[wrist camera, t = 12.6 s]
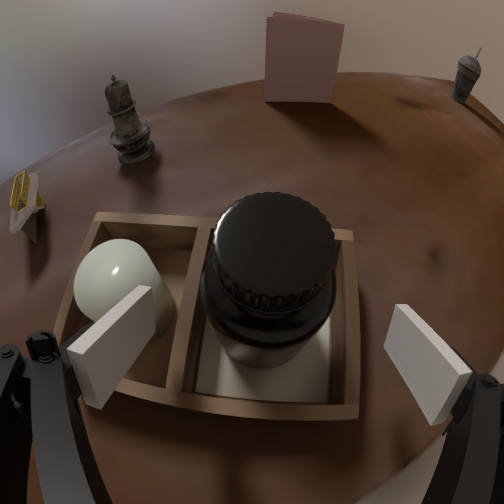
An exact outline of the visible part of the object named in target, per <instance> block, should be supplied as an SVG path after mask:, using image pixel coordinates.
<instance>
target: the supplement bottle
mask: <svg viewBox="0 0 504 504" xmlns="http://www.w3.org/2000/svg"><path fill="white" fill-rule="evenodd" d="M212 238H213V240H212V242H211V248H212V249H211V251H210V253H209V254H208V256H207V258H206V260H205V262H204V265H203V267H202V271H201V277H200V293H201V299H202V302H203V306H204V309H205V311H206V313H207V316H208V318H209V320H210V322H211V324H212V326H213V328H214V331H215V333H216V335H217V337H218V339H219V341H220V343H221V344H222V346H223V348H224V349H225V351H226V352H227V353H228V354H229V355H230V356H231V357H232V358H233V359H235V360H236V361H237V362H239V363H241V364H243V365H245V366H248V367H251V368H257V369H269V368H274V367H278V366H280V365H283V364H285V363H287V362H288V361H290V360H291V359H292V358H294V357H295V356H296V355H297V354H298V353H299V352H300V351H301V350H302V349H303V348H304V347H305V346H306V344H307V343H308V342H309V341H310V340H311V339H312V338H313V337H314V336H315V334H316V333H317V332H318V331H319V330H320V329H321V327H322V326H323V325H324V324H325V322H326V320H327V319H328V317H329V316H330V313H331V311H332V309H333V306H334V303H335V299H336V293H337V281H336V275H335V270H334V267H333V262H334V260H335V258H336V250H335V249H336V246H337V243H336V241H335V239H334V238H335V233H334V232H333V230H332V229H331V224H330V223H329V222H328V221H327V220H326V217H325V215H323V214H322V213H320V211H319V209H318V208H316V207H314V206H312V205H311V203H310V202H308V201H304V200H303V199H301V198H300V197H296V196H292V195H291V194H283V193H280V192H274V193H271V192H264V193H256V194H253V195H251V196H245V197H244V198H243V199H240V200H237V201H236V202H235V203H234V204H233V205H231V206H229V207H228V208H227V210H226V211H225V212H223V213H222V214H221V216H220V219H219V220H218V221H217V222H216V224H215V229H214V231H213V232H212Z"/></svg>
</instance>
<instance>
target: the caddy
mask: <svg viewBox="0 0 504 504" xmlns="http://www.w3.org/2000/svg"><path fill="white" fill-rule="evenodd" d="M219 219H220V218H208V217H192V216H176V215H158V214H138V213H114V212H97V214H96V216H95V218H94V220H93V222H92V224H91V226H90V229H89V231H88V233H87V235H86V238H85V240H84V242H83V245H82V247H81V250H80V252H79V255H78V257H77V260H76V262H75V265H74V268H73V270H72V273H71V276H70V279H69V281H68V284H67V287H66V290H65V293H64V296H63V299H62V303H61V306H60V309H59V312H58V316H57V319H56V323H55V327H54V331H53V334H55V337H56V340H57V344H58V347H60V346H61V345H63V344H64V343H65V342H66V341H67V340H68V339H69V338H71V337H72V336H73V335H74V334H75V333H77V331H79V330H80V329H81V328H82V327H83V326H85V325H87V324H89V323H92V322H94V321H93V320H91V319H90V318H88V317H87V316H86V315H85V314H84V313H83V312H82V311H81V310H80V309H79V307H78V305H77V303H76V300H75V297H74V279H75V275H76V272H77V270H78V267H79V265H80V264H81V262H82V261H83V259H84V258H85V257H86V255H87V254H88V253H89V252H90V251H91V250H93V249H94V248H95V247H97V246H98V245H100V244H102V243H104V242H107V241H109V240H114V239H127V240H131V241H133V242H135V243H137V244H139V245H140V246H141V247H142V248H143V249H144V250H145V251H146V253H147V254H148V256H149V258H150V259H151V261H152V263H153V264H154V266H155V268H156V269H157V271H158V272H159V274H160V276H161V277H162V279H163V280H164V282H165V284H166V285H167V287H168V288H169V290H170V292H171V293H172V296H173V299H174V304H175V311H174V317H173V320H172V322H171V325H170V326H169V328H168V329H167V331H166V332H165V333H164V334H163V335H162V336H161V337H159V338H158V339H156V340H155V341H153V342H150V343H147V344H146V346H145V347H144V349H143V350H142V351H141V353H140V354H139V356H138V357H137V358H136V360H135V361H134V363H133V364H132V366H131V367H130V368H129V370H128V371H127V373H126V374H125V376H124V377H123V378H122V380H121V381H120V383H119V384H118V386H117V387H116V389H115V391H118V392H121V393H124V394H128V395H131V396H135V397H138V398H142V399H146V400H150V401H154V402H158V403H162V404H166V405H171V406H176V407H181V408H186V409H191V410H196V411H202V412H208V413H215V414H222V415H230V416H238V417H248V418H259V419H274V420H301V421H320V420H348V419H358V416H359V399H360V313H359V295H358V281H357V269H356V258H355V249H354V240H353V232H352V231H351V230H342V229H333V228H331V229H332V230H333V232H334V233H335V238H334V239H335V241H336V243H337V246H336V249H335V250H336V258H335V260H334V262H333V267H334V270H335V275H336V281H337V293H336V299H335V303H334V306H333V309H332V311H331V313H330V316H329V317H328V319H327V320H326V322H325V324H324V325H323V326H322V327H321V329H320V330H319V331H318V332H317V333H316V334H315V336H314V337H313V338H312V339H311V340H310V341H309V342H308V343H307V344H306V346H305V347H304V348H303V349H302V350H301V351H300V352H299V353H298V354H297V355H296V356H295V357H294V358H292V359H291V360H290V361H288V362H287V363H285V364H283V365H280V366H278V367H274V368H269V369H257V368H251V367H248V366H245V365H243V364H241V363H239V362H237V361H236V360H235V359H233V358H232V357H231V356H230V355H229V354H228V353H227V352H226V351H225V349H224V348H223V346H222V344H221V343H220V341H219V339H218V337H217V335H216V333H215V331H214V328H213V326H212V324H211V322H210V320H209V318H208V316H207V313H206V311H205V309H204V306H203V302H202V299H201V293H200V277H201V271H202V267H203V265H204V262H205V260H206V258H207V256H208V254H209V253H210V251H211V249H212V248H211V242H212V240H213V238H212V232H213V231H214V229H215V224H216V222H217V221H218V220H219ZM95 323H96V322H95Z"/></svg>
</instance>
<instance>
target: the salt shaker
mask: <svg viewBox="0 0 504 504" xmlns="http://www.w3.org/2000/svg"><path fill="white" fill-rule="evenodd" d="M111 80H112V82H111V83H110V84H109V85H108V86H107V87H106V89H105V95H106V98H107V101H108V104H109V107H110V109H109V111H108V114H109V115H111V116H112V118H113V121H114V124H115V129H114V130H113V131H112V132H111V134H110V136H109V142H110V144H112V145H113V146H114V147H115V148H116V149H117V150H118V151H120V153H119V156H118V158H119V161H120V162H121V163H123V164H127V165H129V164H135V163H138V162H141V161H143V160H145V159H146V158H148V157H149V156H150V155H151V154H152V153H153V151H154V148H155V145H154V143H153V142H152V141H150V140H148V139H149V136H150V129H151V123H150V122H149V121H148V120H146V119H139V118H138V116H137V114H136V111H135V107H134V106H135V104H136V101H134V100H132V98H131V95H130V91H129V88H128V84H127V82H126V81H124V80H116V77H115V76H113V75H112V77H111Z"/></svg>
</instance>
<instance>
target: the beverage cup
mask: <svg viewBox="0 0 504 504" xmlns="http://www.w3.org/2000/svg"><path fill="white" fill-rule="evenodd" d="M480 51H481V48H480V49H479V51H478V53H477V55H476V57H475V58H473V57H471V56H463V57H462V58H461V59H460V61H459V64H458V71H457V75H456V78H455V82H454V85H453V89H452V93H451V97H452V98H453V99H454V100H456V101H457V102H459V103H461V104H464V102H465V101H466V99H467V97H468V96H469V94H470V92H471V90H472V88H473V86H474V84H475V83H476V81H477V80H478V78H479V76H480V74H481V67H480V65H479V63H478V61H477V60H476V59H477V57H478V54H479V52H480Z"/></svg>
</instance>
